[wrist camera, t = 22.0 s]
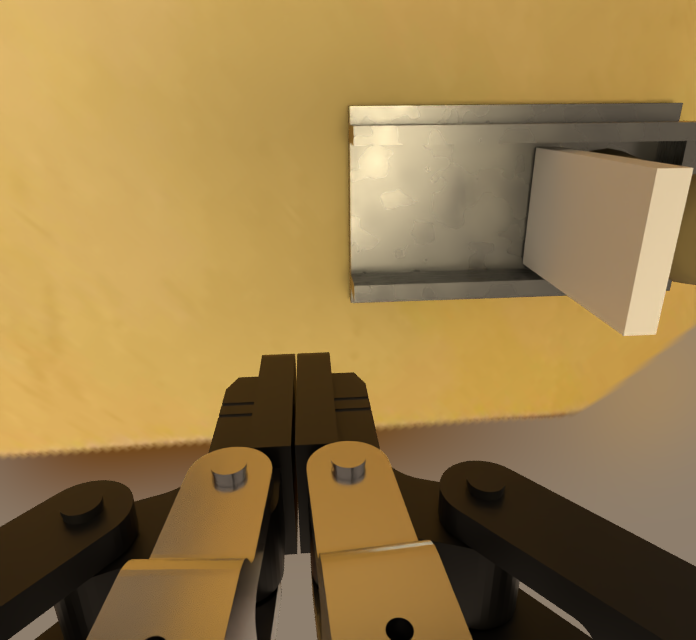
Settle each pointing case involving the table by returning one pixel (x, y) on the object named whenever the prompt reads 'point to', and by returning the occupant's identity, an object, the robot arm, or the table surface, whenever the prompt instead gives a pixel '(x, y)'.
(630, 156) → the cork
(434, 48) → the table surface
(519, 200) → the grey metal tray
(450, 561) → the robot arm
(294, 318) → the table surface
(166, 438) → the table surface
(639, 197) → the panel
